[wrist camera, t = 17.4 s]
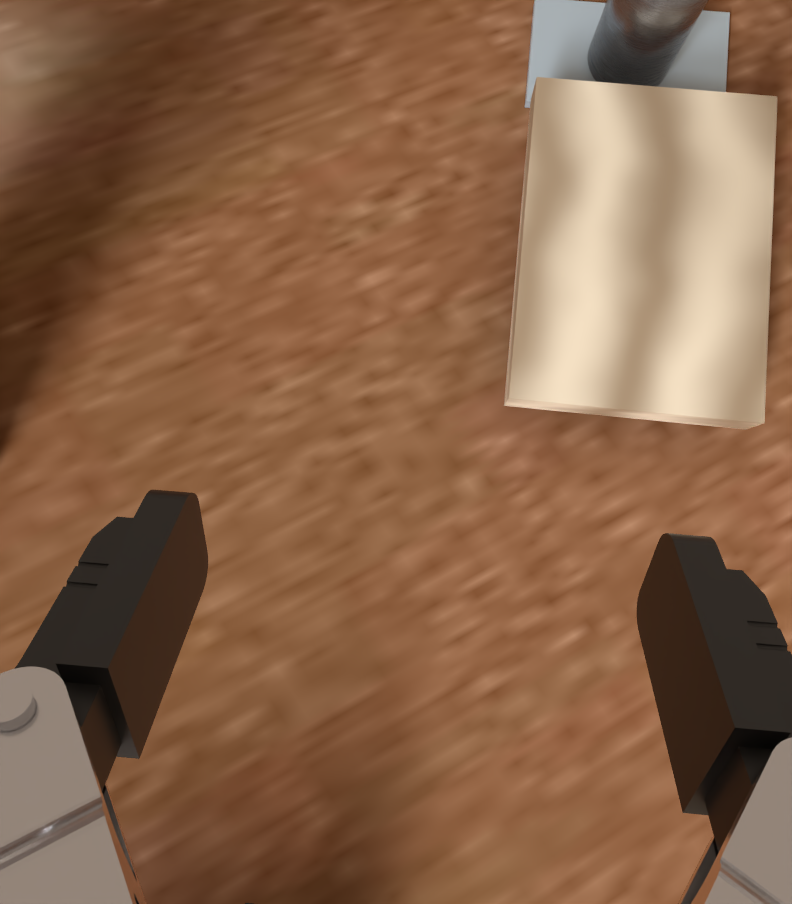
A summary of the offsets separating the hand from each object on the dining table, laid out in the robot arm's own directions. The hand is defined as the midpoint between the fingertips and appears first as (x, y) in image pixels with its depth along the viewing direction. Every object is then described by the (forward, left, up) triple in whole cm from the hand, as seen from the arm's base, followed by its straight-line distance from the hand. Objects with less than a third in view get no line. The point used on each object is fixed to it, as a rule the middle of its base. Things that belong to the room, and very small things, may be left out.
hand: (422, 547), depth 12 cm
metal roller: (+10, +31, -28) cm, 43 cm away
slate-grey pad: (+10, +31, -28) cm, 43 cm away
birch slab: (+11, +17, -28) cm, 35 cm away
